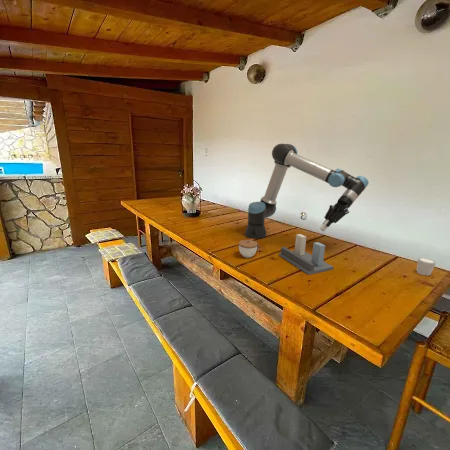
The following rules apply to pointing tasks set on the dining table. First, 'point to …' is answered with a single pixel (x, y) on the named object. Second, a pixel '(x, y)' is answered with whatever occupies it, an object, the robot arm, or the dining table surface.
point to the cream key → (300, 244)
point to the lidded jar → (248, 248)
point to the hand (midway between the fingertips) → (321, 229)
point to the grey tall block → (318, 254)
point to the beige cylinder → (425, 266)
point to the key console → (303, 262)
